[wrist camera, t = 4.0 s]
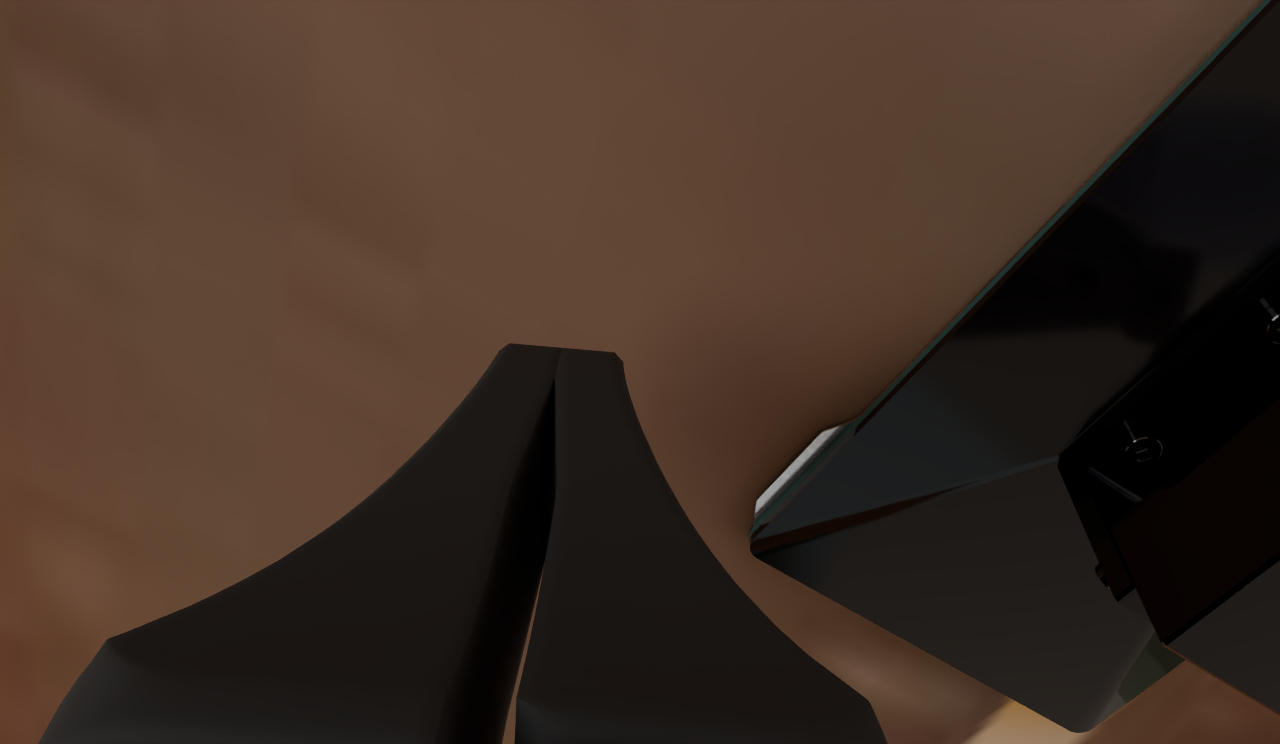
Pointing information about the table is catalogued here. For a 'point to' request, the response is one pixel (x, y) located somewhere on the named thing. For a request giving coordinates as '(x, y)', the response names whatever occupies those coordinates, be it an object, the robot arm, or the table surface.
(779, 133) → the table surface
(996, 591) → the build plate
